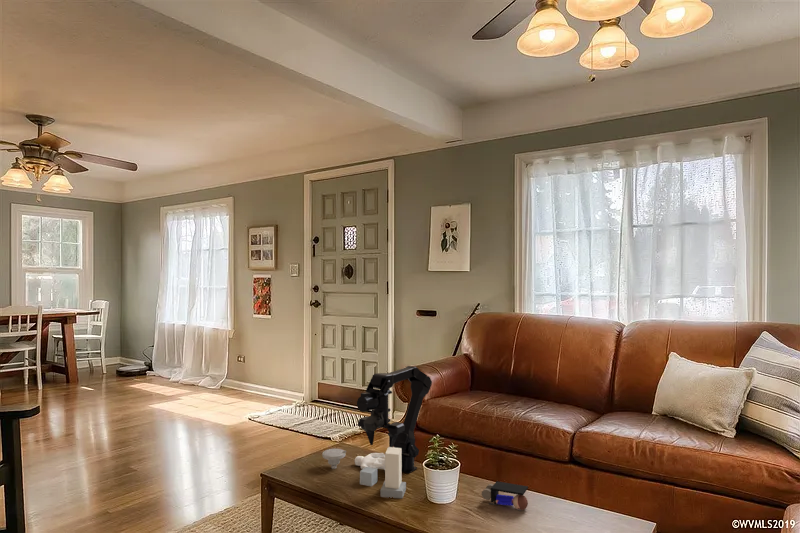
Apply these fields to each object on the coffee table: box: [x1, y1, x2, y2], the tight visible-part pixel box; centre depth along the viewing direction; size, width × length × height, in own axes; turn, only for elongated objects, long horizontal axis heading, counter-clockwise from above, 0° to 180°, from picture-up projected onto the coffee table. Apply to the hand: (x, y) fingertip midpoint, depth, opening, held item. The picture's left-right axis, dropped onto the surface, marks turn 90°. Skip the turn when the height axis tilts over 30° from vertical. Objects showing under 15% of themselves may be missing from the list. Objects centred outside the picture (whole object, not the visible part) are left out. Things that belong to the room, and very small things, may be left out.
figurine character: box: [481, 480, 529, 511], centre depth 172 cm, size 7×8×15 cm
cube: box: [359, 467, 378, 487], centre depth 192 cm, size 5×5×5 cm
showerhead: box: [322, 448, 347, 470], centre depth 207 cm, size 9×7×10 cm
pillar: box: [384, 446, 403, 489], centre depth 182 cm, size 5×5×13 cm
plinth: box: [380, 481, 407, 499], centre depth 183 cm, size 8×8×3 cm
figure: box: [354, 452, 385, 471], centre depth 206 cm, size 11×6×20 cm
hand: (381, 447), depth 193 cm, fingers open, 9 cm apart
